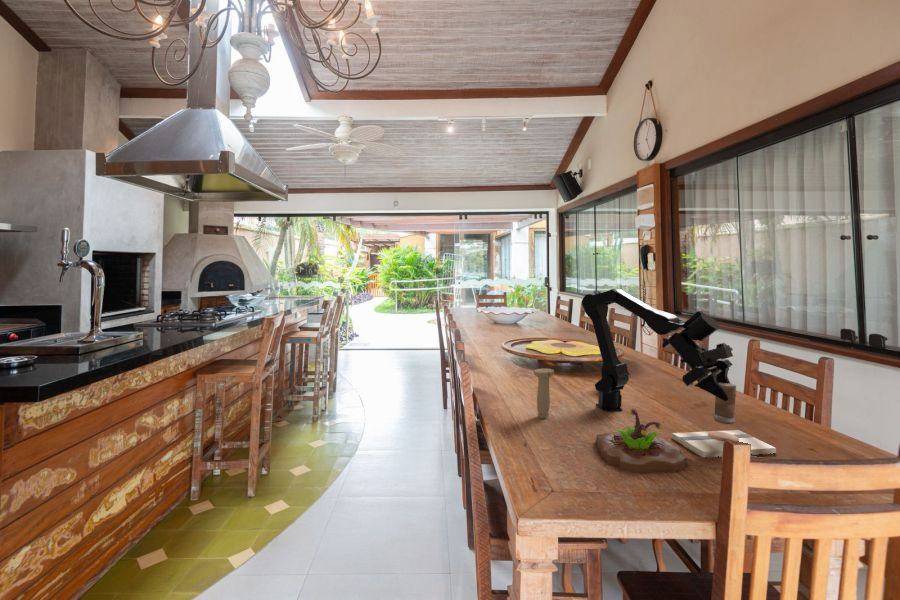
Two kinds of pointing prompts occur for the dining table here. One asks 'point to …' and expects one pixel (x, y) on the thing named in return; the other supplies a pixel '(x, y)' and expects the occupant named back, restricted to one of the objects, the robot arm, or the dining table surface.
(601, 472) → the dining table surface
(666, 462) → the plant
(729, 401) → the grey-brown upright cylinder
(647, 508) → the dining table surface
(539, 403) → the handle
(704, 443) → the board
